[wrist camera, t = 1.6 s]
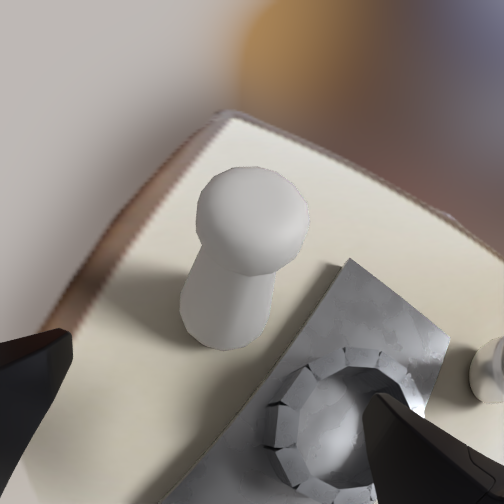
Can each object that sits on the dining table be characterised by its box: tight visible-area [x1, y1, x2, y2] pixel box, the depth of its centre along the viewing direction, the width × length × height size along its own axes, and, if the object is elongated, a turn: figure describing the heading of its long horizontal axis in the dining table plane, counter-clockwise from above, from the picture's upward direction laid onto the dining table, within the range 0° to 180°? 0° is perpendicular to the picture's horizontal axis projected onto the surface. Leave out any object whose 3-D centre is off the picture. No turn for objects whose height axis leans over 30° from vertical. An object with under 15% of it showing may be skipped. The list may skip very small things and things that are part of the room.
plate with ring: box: [157, 258, 450, 504], centre depth 17 cm, size 24×12×4 cm, turn 143°
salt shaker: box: [179, 167, 310, 351], centre depth 16 cm, size 6×6×13 cm
